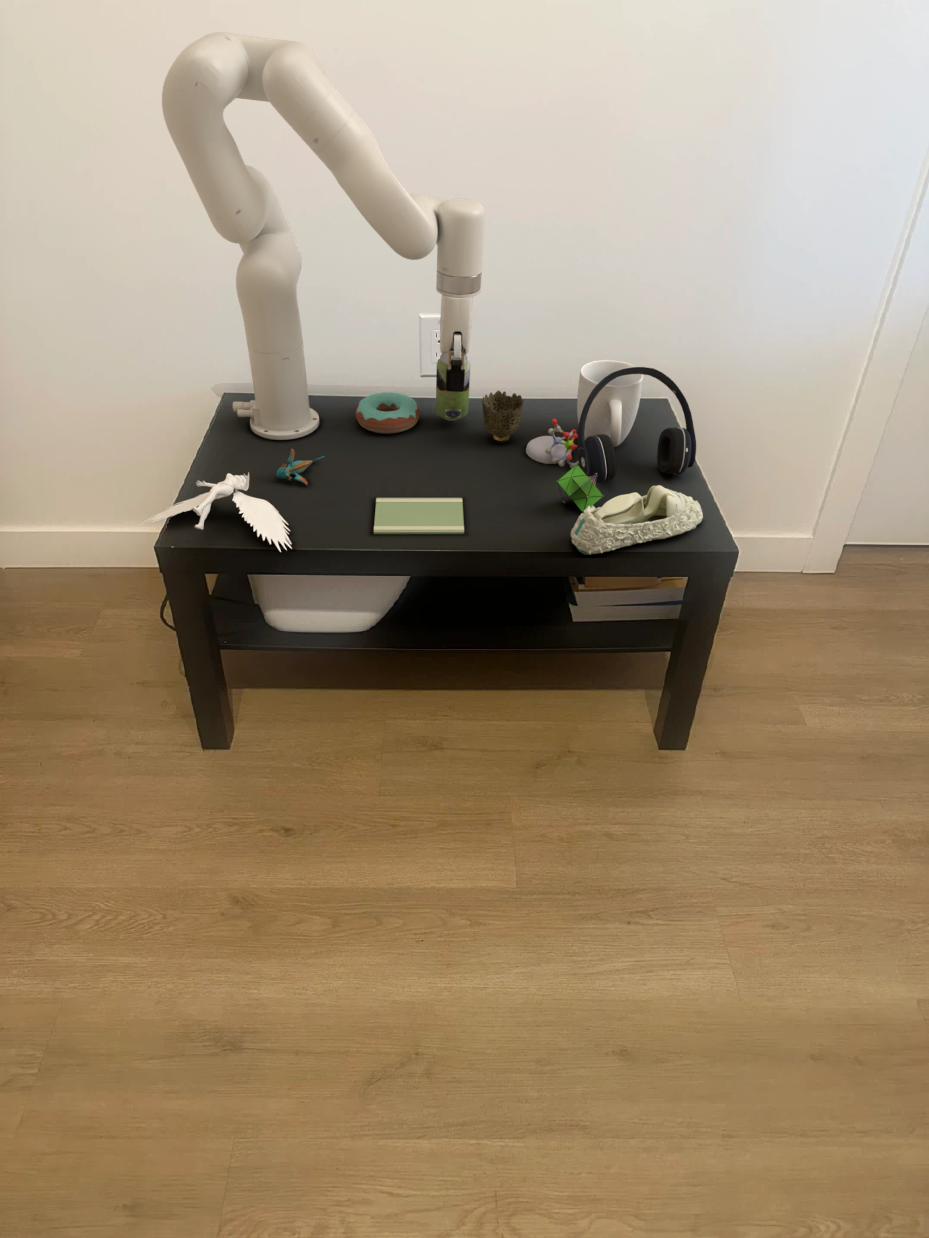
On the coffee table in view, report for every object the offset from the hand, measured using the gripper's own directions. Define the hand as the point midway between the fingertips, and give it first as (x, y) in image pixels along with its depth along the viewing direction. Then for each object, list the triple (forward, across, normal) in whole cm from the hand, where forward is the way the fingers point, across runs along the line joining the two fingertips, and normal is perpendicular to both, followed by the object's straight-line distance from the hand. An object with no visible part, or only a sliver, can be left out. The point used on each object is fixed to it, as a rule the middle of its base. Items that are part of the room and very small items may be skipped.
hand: (454, 381), depth 156 cm
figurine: (+1, +40, -38) cm, 55 cm away
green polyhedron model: (+4, +32, +20) cm, 38 cm away
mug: (+8, +7, +27) cm, 29 cm away
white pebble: (+6, +10, +17) cm, 21 cm away
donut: (+9, -1, -12) cm, 15 cm away
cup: (+9, +6, +9) cm, 14 cm away
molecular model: (+3, +10, +18) cm, 21 cm away
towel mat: (+9, +31, -6) cm, 33 cm away
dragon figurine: (+10, +18, -26) cm, 33 cm away
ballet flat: (+8, +36, +28) cm, 47 cm away
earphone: (+7, +20, +31) cm, 38 cm away
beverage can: (+7, 0, 0) cm, 7 cm away
